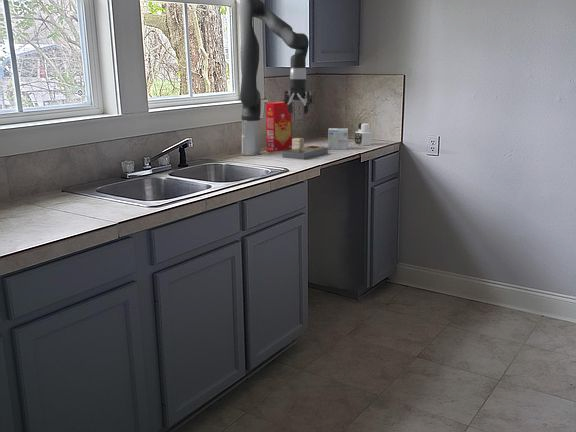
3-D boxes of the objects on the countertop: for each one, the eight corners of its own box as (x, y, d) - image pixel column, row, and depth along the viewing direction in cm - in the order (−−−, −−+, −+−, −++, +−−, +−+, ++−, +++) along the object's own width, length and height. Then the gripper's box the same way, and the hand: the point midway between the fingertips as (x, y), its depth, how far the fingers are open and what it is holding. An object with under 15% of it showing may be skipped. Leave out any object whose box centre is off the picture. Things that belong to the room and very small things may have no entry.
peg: (299, 158, 279) (299, 139, 277) (292, 157, 282) (292, 138, 279) (303, 157, 283) (303, 138, 280) (296, 156, 285) (296, 137, 282)
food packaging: (274, 152, 303) (274, 103, 296) (266, 151, 306) (265, 103, 300) (291, 149, 314) (291, 101, 308) (283, 148, 317) (283, 101, 311)
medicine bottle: (354, 144, 332) (355, 122, 329) (365, 143, 335) (366, 122, 332) (361, 145, 326) (361, 124, 323) (372, 145, 329) (372, 123, 325)
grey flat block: (303, 161, 276) (303, 152, 275) (282, 159, 283) (282, 150, 281) (327, 155, 293) (328, 146, 292) (307, 153, 300) (307, 145, 299)
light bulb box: (347, 147, 318) (348, 128, 316) (347, 149, 312) (348, 129, 309) (328, 147, 319) (328, 127, 317) (327, 149, 313) (328, 129, 310)
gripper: (315, 78, 272) (315, 113, 276) (289, 77, 279) (290, 112, 284) (306, 78, 266) (306, 114, 270) (280, 78, 274) (281, 113, 278)
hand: (298, 113), depth 277 cm, fingers open, 8 cm apart
